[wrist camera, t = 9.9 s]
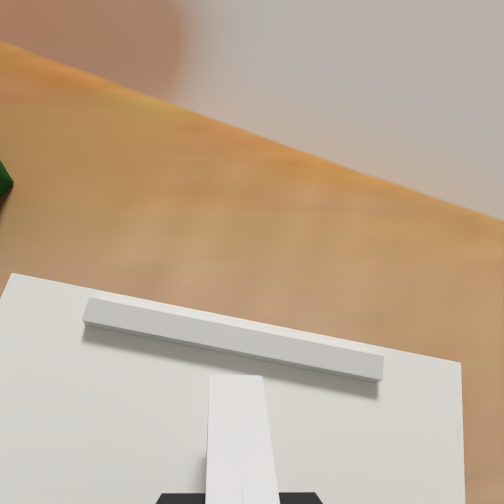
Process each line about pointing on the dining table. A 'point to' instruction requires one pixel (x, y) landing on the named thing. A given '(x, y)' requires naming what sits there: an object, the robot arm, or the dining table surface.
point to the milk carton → (4, 179)
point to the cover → (196, 403)
